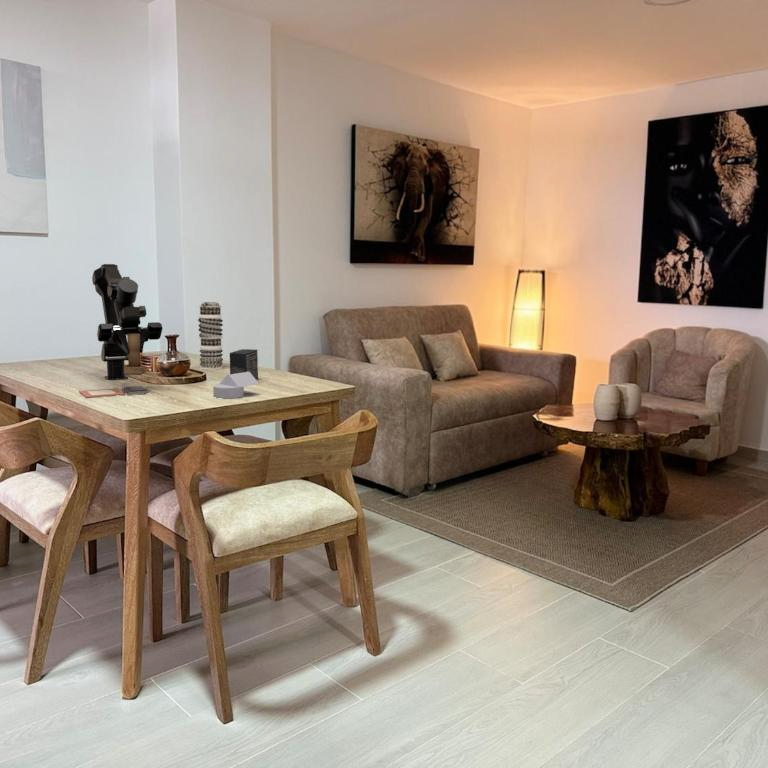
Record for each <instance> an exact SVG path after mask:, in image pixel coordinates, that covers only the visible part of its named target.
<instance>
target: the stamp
mask: <svg viewBox="0 0 768 768" xmlns="http://www.w3.org/2000/svg"><path fill="white" fill-rule="evenodd" d="M126 338H127V342H128V348H129V354H128V360H127V362H128V365H126V366H125V367H124V373H125V376H142V375H143V374H145V373H146V365H145V364H144V365H143V364H142V361H141V357H142V356H141V353H140V334H138V333H130V334H127V335H126Z"/></svg>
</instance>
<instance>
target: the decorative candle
mask: <svg viewBox="0 0 768 768" xmlns="http://www.w3.org/2000/svg"><path fill="white" fill-rule="evenodd" d="M221 308H222V306H221V305H220V304H219V303H218V302H216V301H215V302H214V301H205V302H204V301H203V302H202V303H201V305H200V306H199V318H198V319H197V321H198V322H199V324H198V331H199V332H200V333H198V336H199V337H198V338H200V346H199V347H200V350H199V353H200V354H199V356H200V359H199V362H200V363H199V365H200V367H199V369H201V370H206V371H208V370H209V371H210V370H211V371H214V370H222V369H223V364H224V363H223V360H224V359H223V355H224V354H223V353H222V352H223V351H224V350H223V349H222V348H223V345H222V338H223V333H222V332H223V328H221V327H223V325H224V324H223V321H224V320H223V319H222V314H221Z"/></svg>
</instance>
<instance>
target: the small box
mask: <svg viewBox="0 0 768 768" xmlns="http://www.w3.org/2000/svg"><path fill="white" fill-rule="evenodd" d="M258 358H259V357H258V349H253V348H251V349H246V348H245V349H244V348H243V349H242V348H241V349H238V350H235V351H232V352H229V375H230V374H236V373H243V372H250V373H251V374H252V375H253V377H254V378H255V379H256V380H258V379H259V366H258V365H259V364H258V363H259V361H258V360H259V359H258Z"/></svg>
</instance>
